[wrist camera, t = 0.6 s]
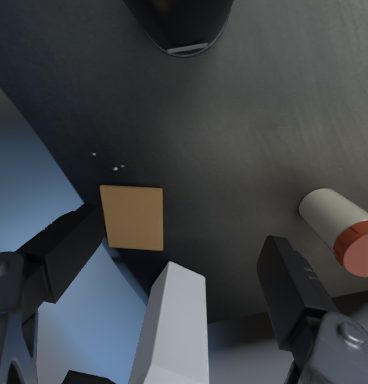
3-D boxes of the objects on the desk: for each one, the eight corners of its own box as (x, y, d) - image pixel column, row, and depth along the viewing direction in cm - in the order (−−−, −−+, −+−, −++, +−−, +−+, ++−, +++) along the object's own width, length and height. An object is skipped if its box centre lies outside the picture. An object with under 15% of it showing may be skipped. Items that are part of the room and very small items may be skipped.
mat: (101, 184, 29) (99, 186, 29) (162, 188, 29) (161, 189, 28) (110, 244, 34) (108, 247, 33) (163, 248, 33) (162, 250, 33)
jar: (304, 187, 27) (353, 226, 19) (347, 189, 27) (416, 229, 18) (294, 221, 30) (333, 270, 21) (333, 224, 29) (388, 274, 21)
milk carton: (169, 259, 34) (140, 421, 17) (205, 276, 35) (212, 444, 18) (152, 284, 37) (112, 445, 20) (185, 299, 38) (175, 463, 21)
